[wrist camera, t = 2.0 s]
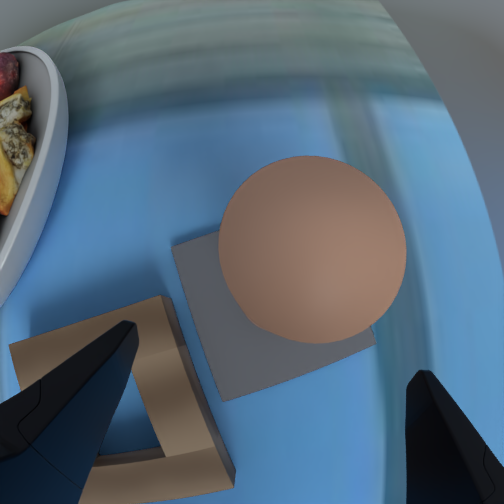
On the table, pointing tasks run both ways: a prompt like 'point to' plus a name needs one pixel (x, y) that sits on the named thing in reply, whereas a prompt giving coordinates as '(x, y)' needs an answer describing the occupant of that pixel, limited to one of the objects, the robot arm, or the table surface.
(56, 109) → the bowl
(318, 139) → the table surface
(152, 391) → the socket block
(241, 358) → the mat
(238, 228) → the dowel
